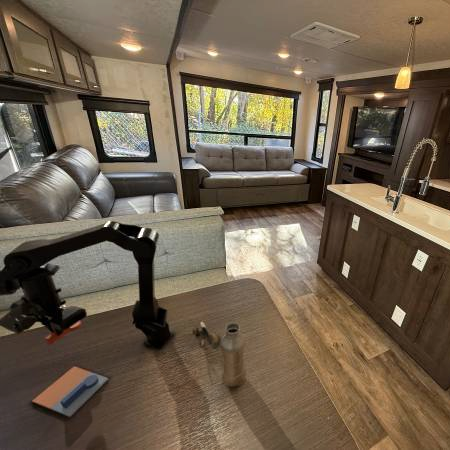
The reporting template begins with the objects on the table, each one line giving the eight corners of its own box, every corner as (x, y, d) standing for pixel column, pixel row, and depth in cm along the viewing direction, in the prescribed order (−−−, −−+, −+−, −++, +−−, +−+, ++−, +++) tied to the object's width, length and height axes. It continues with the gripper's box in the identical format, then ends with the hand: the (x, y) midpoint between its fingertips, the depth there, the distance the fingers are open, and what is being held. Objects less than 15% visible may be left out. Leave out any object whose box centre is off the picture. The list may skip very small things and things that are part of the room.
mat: (108, 379, 69) (108, 378, 69) (69, 417, 60) (69, 416, 60) (74, 367, 71) (74, 366, 71) (32, 402, 62) (31, 400, 62)
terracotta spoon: (53, 346, 67) (50, 340, 67) (44, 342, 68) (41, 336, 67) (84, 324, 75) (82, 319, 74) (76, 321, 76) (74, 316, 75)
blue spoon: (69, 409, 61) (66, 404, 60) (59, 405, 62) (56, 400, 61) (101, 379, 68) (99, 373, 67) (92, 376, 69) (90, 370, 68)
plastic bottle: (240, 392, 69) (239, 340, 61) (217, 386, 70) (214, 334, 62) (249, 371, 75) (249, 321, 67) (228, 366, 76) (226, 316, 68)
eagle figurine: (185, 347, 79) (209, 351, 77) (188, 323, 81) (212, 327, 78) (200, 341, 86) (222, 345, 84) (203, 320, 88) (225, 323, 85)
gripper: (-31, 300, 58) (-4, 347, 64) (27, 320, 54) (49, 368, 60) (28, 274, 68) (46, 317, 74) (80, 290, 64) (95, 334, 70)
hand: (58, 333), depth 70 cm, fingers closed on terracotta spoon, 1 cm apart
